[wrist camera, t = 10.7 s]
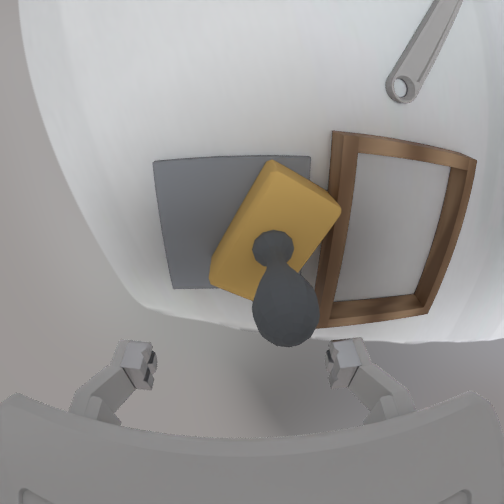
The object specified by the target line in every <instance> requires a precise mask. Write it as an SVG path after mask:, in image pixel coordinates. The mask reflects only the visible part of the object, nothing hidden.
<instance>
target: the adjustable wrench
mask: <svg viewBox="0 0 504 504" xmlns="http://www.w3.org/2000/svg"><path fill="white" fill-rule="evenodd" d="M462 2H463V0H434V1H433V3H432V5H431V7H430V8H429V10H428V12H427V13H426V15H425V17H424V19H423V20H422V22H421V24H420V25H419V27H418V29H417V30H416V32H415V34H414V35H413V37H412V39H411V40H410V42H409V44H408V45H407V47H406V49H405V50H404V52H403V54H402V55H401V57H400V58H399V60H398V62H397V63H396V65H395V67H394V68H393V70H392V71H391V73H390V75H389V76H388V78H387V80H386V91H387V93H388V95H389V96H390V97H391V98H392V99H393V100H394V101H396V102H400V103H410V102H412V101H414V99H415V98H416V96H417V94H418V93H419V91H420V89H421V87H422V85H423V83H424V81H425V80H426V78H427V76H428V74H429V72H430V70H431V68H432V66H433V64H434V62H435V60H436V58H437V56H438V54H439V52H440V50H441V48H442V46H443V44H444V42H445V40H446V38H447V36H448V33H449V31H450V29H451V27H452V25H453V23H454V20H455V18H456V16H457V14H458V11H459V9H460V7H461V4H462ZM396 79H402V80H404V82H405V83H406V85H407V94H406V96H405V97H398V96H397V95H396V93H395V91H394V81H395V80H396Z"/></svg>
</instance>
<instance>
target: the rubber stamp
mask: <svg viewBox="0 0 504 504" xmlns="http://www.w3.org/2000/svg"><path fill="white" fill-rule="evenodd" d="M340 214H341V207H340V205H339V204H338V203H337V202H336V201H335V200H334V198H333V197H332V196H331V195H330V194H329V193H328V192H327V191H326V190H324V189H323V188H321V187H319V186H318V185H316V184H315V183H313V182H311V181H310V180H308V179H306V178H304V177H303V176H301V175H299V174H298V173H296V172H294V171H292V170H291V169H289V168H287V167H285V166H284V165H282V164H280V163H278V162H276V161H275V160H273V159H272V160H269V161H267V162H266V163H265V165H264V166H263V168H262V170H261V172H260V173H259V175H258V177H257V178H256V180H255V182H254V183H253V185H252V187H251V189H250V190H249V192H248V194H247V195H246V197H245V199H244V201H243V202H242V204H241V206H240V208H239V209H238V211H237V213H236V215H235V216H234V218H233V220H232V222H231V223H230V225H229V227H228V229H227V230H226V232H225V234H224V236H223V238H222V239H221V241H220V243H219V245H218V247H217V248H216V250H215V252H214V254H213V256H212V258H211V265H210V272H209V281H210V284H211V285H214V286H216V287H219V288H221V289H224V290H226V291H229V292H231V293H234V294H236V295H239V296H241V297H244V298H246V299H249V300H252V301H253V306H252V312H253V317H254V320H255V323H256V325H257V328H258V330H259V332H260V334H261V335H262V336H263V337H264V338H265V339H267V340H268V341H270V342H271V343H273V344H275V345H276V346H284V347H292V346H296V345H299V344H301V343H302V342H304V341H305V340H307V339H309V338H310V337H311V335H312V334H313V332H314V330H315V328H316V327H317V325H318V323H319V319H320V312H319V305H318V299H317V296H316V293H315V291H314V289H313V287H312V286H311V285H310V284H309V282H308V281H307V280H305V279H304V278H303V277H302V276H301V275H300V274H298V272H299V271H300V270H301V268H302V267H303V266H304V264H305V263H306V262H307V260H308V259H309V258H310V256H311V255H312V253H313V252H314V251H315V249H316V248H317V247H318V245H319V244H320V243H321V241H322V240H323V238H324V237H325V236H326V234H327V233H328V232H329V230H330V229H331V227H332V226H333V225H334V223H335V222H336V220H337V219H338V218H339V216H340Z"/></svg>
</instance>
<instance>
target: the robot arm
mask: <svg viewBox="0 0 504 504" xmlns="http://www.w3.org/2000/svg"><path fill="white" fill-rule="evenodd" d="M328 346H329V350H328V351H327V352H326V355H325V366H326V370H327V371H328V372H329V373H330V375H329V377H328V379H329V383H330V387H331V389H339V388H347V387H348V389H349V390H350V391H351V392H352V393H353V394H354V395H355V396H356V397H357V398H358V400H359V401H360V402H361V403H362V404H363V405H364V406H365V407H366V408H367V409H368V410H369V411H370V413H369V414H368V416H367V417H366V418H365V419H364V421H363V424H364V425H362V426H357V427H352V428H347V429H341V430H335V431H329V432H322V433H315V434H306V435H296V436H284V437H269V438H268V437H267V438H213V437H197V436H185V435H175V434H167V433H159V432H152V431H146V430H140V429H134V428H129V427H124V426H121V421H120V419H119V418H118V417H117V416H116V415H115V414H114V413H115V412H116V411H117V410H118V408H119V407H120V406H121V405H122V404H123V403H124V402H125V401H126V400H127V398H128V397H129V396H130V395H131V394H132V393H133V392H134V391H135V389H143V390H152V386H153V382H154V378H153V375H152V374H154V373H155V372H156V369H157V356H156V354H155V352H153V351H152V348H153V346H152V344H151V342H141V341H133V340H124V339H121V340H120V341H119V342H118V345H117V347H116V350H115V353H114V356H113V358H112V361H111V364H110V366H108V365H107V366H106V367H104V368H103V369H102V370H101V371H100V372H98V373H97V374H96V375H95V376H93V377H92V378H91V379H90V380H89V381H87V382H86V383H85V384H84V385H82V386H81V387H80V388H79V389H78V390H76V391H75V394H74V397H73V400H72V402H71V405H70V408H69V411H68V412H67V411H64V410H61V409H58V408H55V407H53V406H50V405H47V404H44V403H42V402H39V401H37V400H34V399H32V398H29V397H27V396H25V395H23V394H20V393H16V394H13V395H11V396H10V397H8V398H7V399H5V400H4V401H2V402H1V403H0V504H504V435H503V431H502V428H501V425H500V422H499V419H498V416H497V414H496V411H495V409H494V407H493V405H492V404H491V402H489V401H488V400H487V399H485V398H484V397H482V396H481V395H479V394H477V393H476V392H474V391H468V392H465V393H463V394H460V395H458V396H456V397H454V398H451V399H448V400H446V401H443V402H441V403H438V404H435V405H433V406H430V407H427V408H424V409H421V410H418V411H416V408H415V405H414V403H413V400H412V397H411V395H410V392H409V390H408V389H407V388H406V387H404V386H403V385H402V384H401V383H399V382H398V381H397V380H395V379H394V378H393V377H392V376H390V375H389V374H388V373H386V372H385V371H384V370H383V369H381V368H380V367H378V366H377V365H376V364H372V362H371V359H370V356H369V354H368V351H367V349H366V346H365V343H364V341H363V339H362V338H361V337H359V338H348V339H340V340H331V341H330V342H329V345H328Z"/></svg>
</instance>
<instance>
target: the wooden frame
mask: <svg viewBox="0 0 504 504" xmlns="http://www.w3.org/2000/svg"><path fill="white" fill-rule="evenodd" d="M358 153H366V154H375V155H383V156H391V157H398V158H405V159H411V160H418V161H423V162H429V163H434V164H440V165H445V166H450V167H451V170H450V175H449V180H448V185H447V190H446V195H445V199H444V203H443V207H442V211H441V215H440V219H439V223H438V226H437V230H436V233H435V237H434V240H433V243H432V247H431V250H430V253H429V256H428V259H427V262H426V265H425V267H424V270H423V273H422V276H421V278H420V281H419V284H418V286H417V289H416V291H415V294H410V295H402V296H393V297H384V298H375V299H364V300H354V301H342V302H333V301H334V297H335V292H336V288H337V283H338V278H339V274H340V269H341V264H342V259H343V254H344V248H345V243H346V237H347V231H348V225H349V219H350V213H351V206H352V199H353V191H354V184H355V175H356V167H357V157H358ZM476 164H477V160H475V159H473V158H471V157H468V156H466V155H464V154H461V153H458V152H454V151H450V150H446V149H442V148H438V147H434V146H429V145H425V144H420V143H415V142H410V141H405V140H399V139H394V138H387V137H381V136H374V135H367V134H359V133H351V132H341V131H333V132H332V147H331V161H330V173H329V184H328V193H329V194H330V195H331V196H332V197H333V198H334V200H335V201H336V202H337V203H338V204H339V205H340V207H341V214H340V216H339V218H338V219H337V220H336V222H335V223H334V225H333V226H332V227H331V229H330V230H329V232H328V233H327V234H326V236H325V237H324V238H323V240H322V244H321V251H320V258H319V265H318V272H317V278H316V284H315V290H314V291H315V293H316V296H317V299H318V305H319V312H320V319H319V323H318V325H317V327H316V329H319V328H329V327H339V326H348V325H357V324H365V323H373V322H380V321H387V320H394V319H400V318H406V317H412V316H418V315H424V314H428V312H429V310H430V307H431V305H432V303H433V301H434V299H435V297H436V294H437V292H438V290H439V287H440V285H441V283H442V280H443V278H444V275H445V273H446V270H447V268H448V265H449V263H450V260H451V257H452V254H453V252H454V249H455V246H456V243H457V240H458V237H459V234H460V230H461V227H462V224H463V220H464V217H465V213H466V209H467V206H468V202H469V198H470V193H471V189H472V184H473V180H474V175H475V169H476Z"/></svg>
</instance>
